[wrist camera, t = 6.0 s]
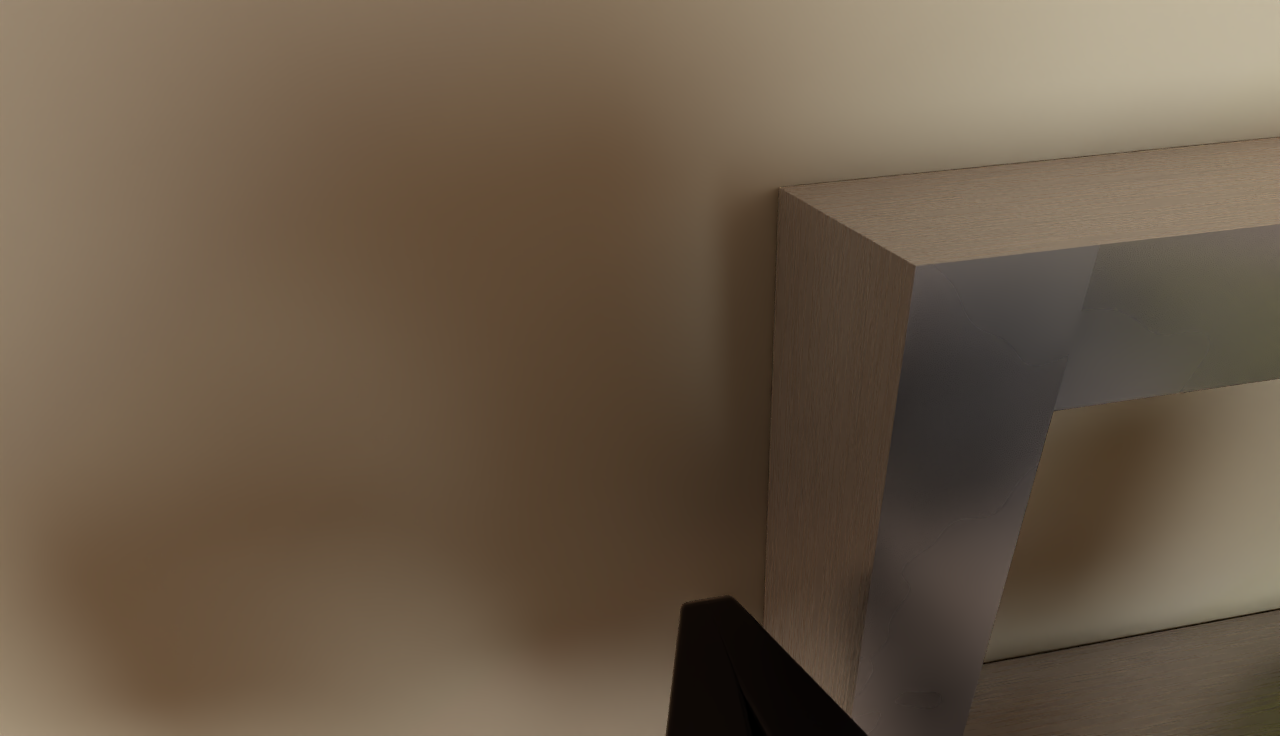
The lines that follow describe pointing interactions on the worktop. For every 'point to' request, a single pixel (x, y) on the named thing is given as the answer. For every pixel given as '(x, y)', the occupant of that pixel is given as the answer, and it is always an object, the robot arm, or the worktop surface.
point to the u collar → (1001, 424)
